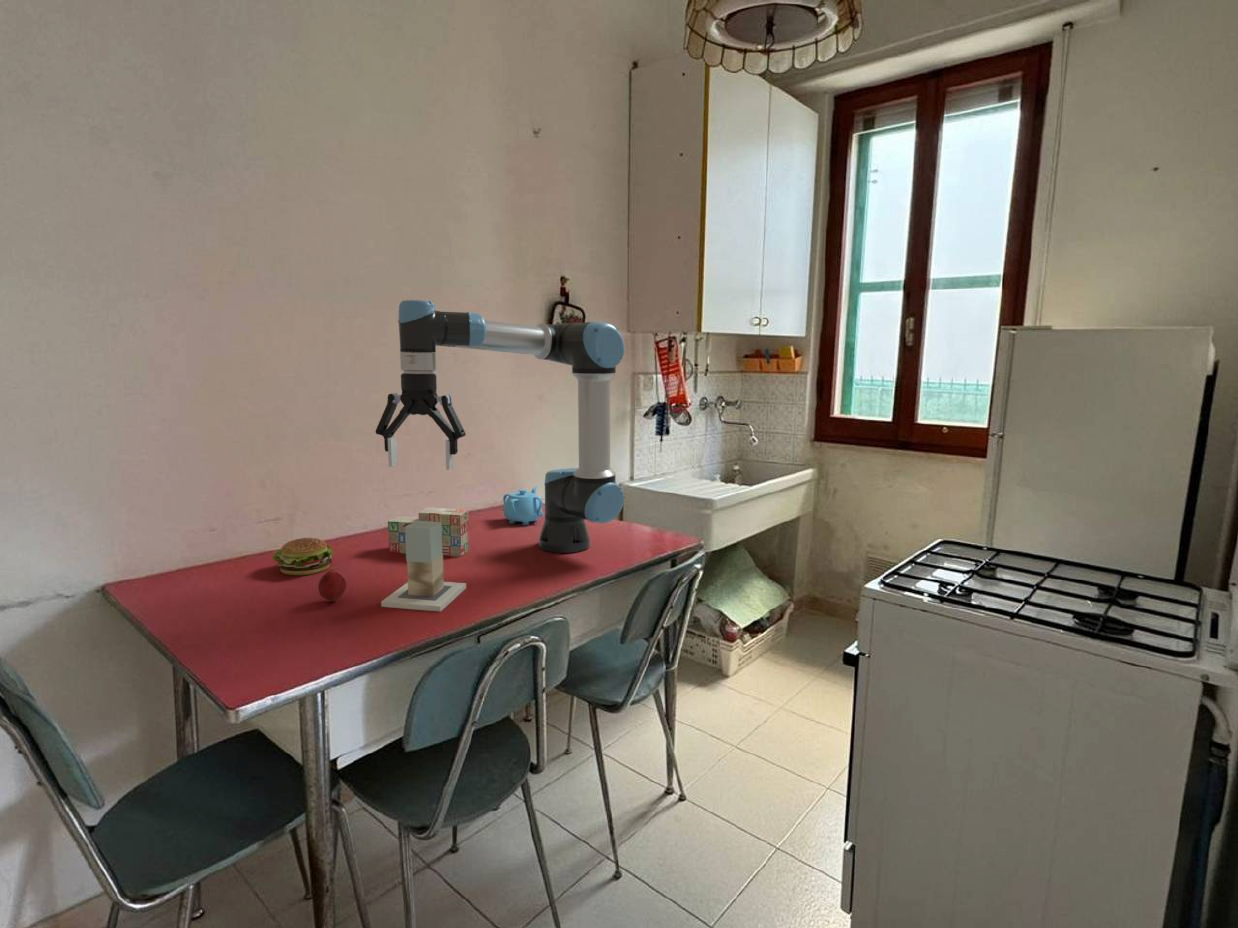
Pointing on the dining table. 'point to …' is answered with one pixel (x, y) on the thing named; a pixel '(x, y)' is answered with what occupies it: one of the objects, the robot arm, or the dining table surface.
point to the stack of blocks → (452, 530)
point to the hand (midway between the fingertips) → (421, 467)
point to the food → (303, 556)
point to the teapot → (523, 506)
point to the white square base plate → (424, 598)
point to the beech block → (425, 577)
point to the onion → (332, 585)
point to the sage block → (423, 541)
